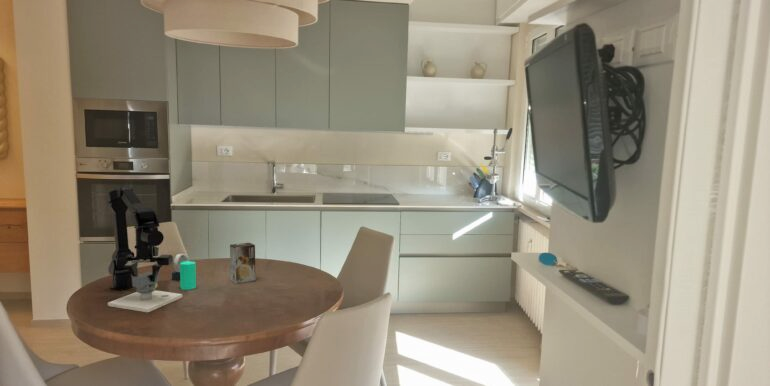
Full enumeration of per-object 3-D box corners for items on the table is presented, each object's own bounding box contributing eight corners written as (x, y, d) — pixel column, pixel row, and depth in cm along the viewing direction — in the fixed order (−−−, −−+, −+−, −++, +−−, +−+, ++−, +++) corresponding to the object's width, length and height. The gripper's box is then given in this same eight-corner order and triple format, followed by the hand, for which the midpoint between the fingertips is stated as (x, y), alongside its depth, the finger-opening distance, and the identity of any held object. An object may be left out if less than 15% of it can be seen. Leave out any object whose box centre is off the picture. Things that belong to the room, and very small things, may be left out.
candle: (190, 290, 204) (190, 261, 203) (177, 288, 206) (176, 260, 204) (198, 286, 210) (198, 258, 209) (185, 284, 211) (185, 256, 210)
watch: (191, 276, 223) (191, 252, 222) (182, 281, 215) (181, 256, 214) (179, 275, 224) (178, 251, 223) (169, 280, 216) (169, 255, 215)
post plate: (107, 305, 184) (107, 295, 183) (144, 291, 201) (144, 281, 200) (148, 312, 179) (147, 301, 178) (182, 297, 196) (182, 287, 195)
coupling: (142, 294, 184) (142, 278, 184) (130, 291, 187) (130, 275, 186) (161, 288, 192) (161, 272, 191) (149, 286, 195) (149, 270, 194)
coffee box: (249, 277, 225) (249, 242, 223) (255, 280, 220) (255, 244, 218) (229, 280, 219) (229, 244, 217) (235, 284, 214) (235, 247, 213)
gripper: (177, 237, 196) (178, 276, 198) (127, 236, 194) (128, 276, 196) (167, 243, 185) (168, 284, 187) (114, 243, 183) (116, 284, 185)
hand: (145, 282), depth 189 cm, fingers closed on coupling, 6 cm apart
